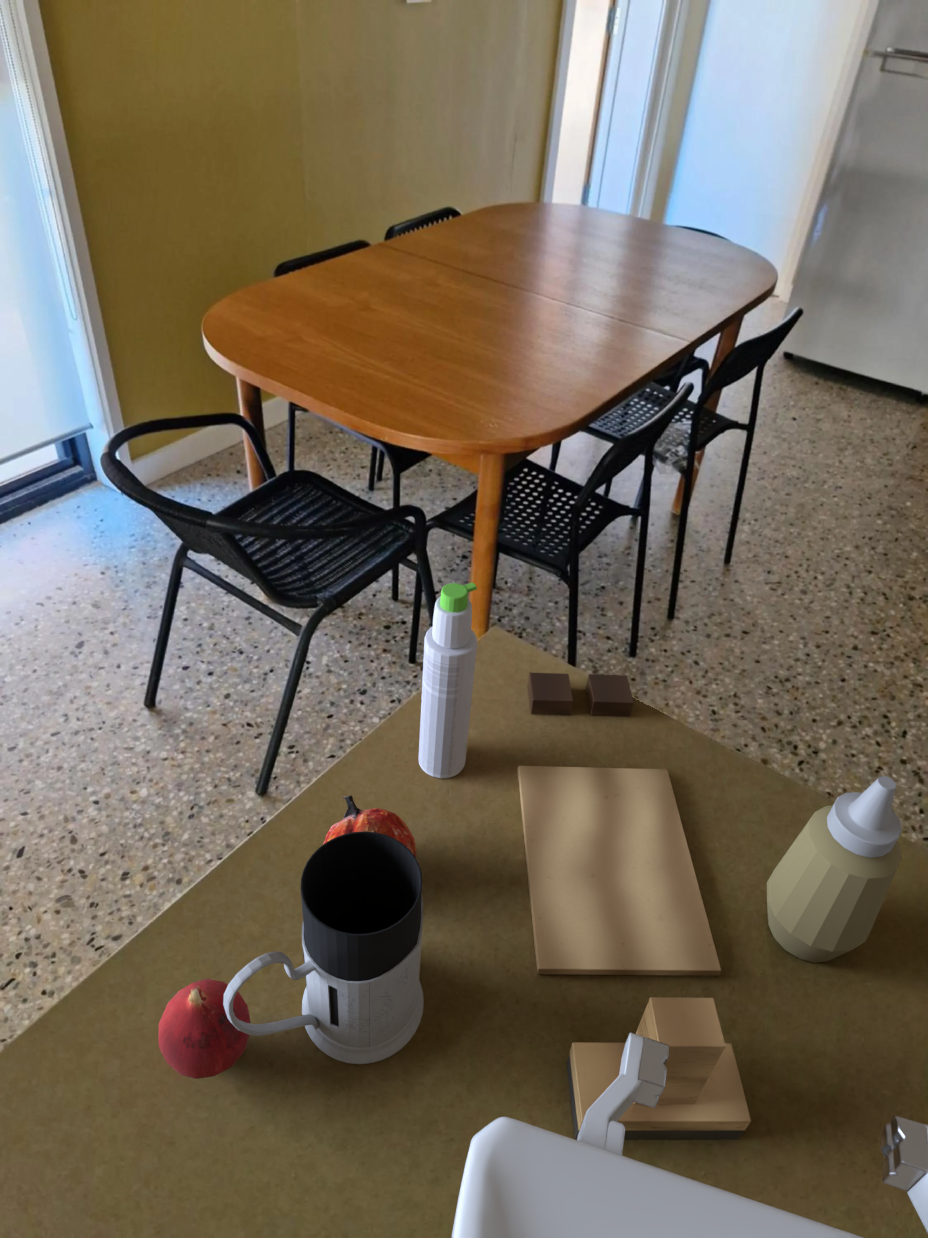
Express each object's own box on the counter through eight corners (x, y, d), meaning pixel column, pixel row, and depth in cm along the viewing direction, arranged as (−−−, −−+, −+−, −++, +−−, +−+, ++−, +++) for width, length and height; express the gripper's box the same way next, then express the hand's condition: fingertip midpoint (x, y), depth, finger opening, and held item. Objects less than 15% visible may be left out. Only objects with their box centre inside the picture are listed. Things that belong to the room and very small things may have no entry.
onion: (272, 1041, 62) (263, 982, 57) (214, 1116, 58) (199, 1060, 53) (209, 998, 64) (195, 937, 59) (148, 1068, 60) (128, 1008, 55)
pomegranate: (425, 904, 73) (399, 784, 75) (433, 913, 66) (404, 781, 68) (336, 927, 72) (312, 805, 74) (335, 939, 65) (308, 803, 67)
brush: (720, 1063, 63) (764, 983, 56) (739, 1140, 59) (789, 1064, 52) (566, 1062, 62) (591, 981, 55) (574, 1140, 58) (603, 1063, 51)
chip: (565, 687, 91) (568, 673, 90) (570, 715, 88) (573, 701, 87) (527, 686, 91) (529, 672, 90) (530, 714, 88) (532, 700, 87)
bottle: (470, 775, 81) (488, 604, 69) (423, 782, 80) (433, 610, 68) (459, 741, 85) (474, 571, 72) (414, 746, 84) (422, 576, 71)
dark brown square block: (623, 689, 92) (627, 675, 91) (630, 717, 89) (633, 702, 88) (585, 688, 92) (588, 673, 90) (590, 715, 89) (593, 701, 87)
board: (665, 774, 83) (667, 769, 83) (719, 976, 68) (721, 971, 67) (517, 771, 82) (518, 765, 82) (537, 974, 67) (538, 969, 66)
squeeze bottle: (733, 923, 71) (802, 775, 60) (788, 869, 76) (862, 722, 64) (822, 998, 67) (915, 853, 55) (875, 936, 71) (971, 790, 60)
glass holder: (448, 1010, 64) (461, 890, 55) (278, 1148, 56) (260, 1036, 47) (375, 925, 69) (376, 801, 60) (210, 1042, 61) (180, 921, 52)
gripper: (1322, 1847, 18) (1130, 1145, 29) (384, 1452, 22) (517, 958, 32) (1152, 1822, 22) (1038, 1214, 33) (382, 1491, 26) (501, 1040, 36)
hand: (774, 1085), depth 32 cm, fingers open, 8 cm apart
